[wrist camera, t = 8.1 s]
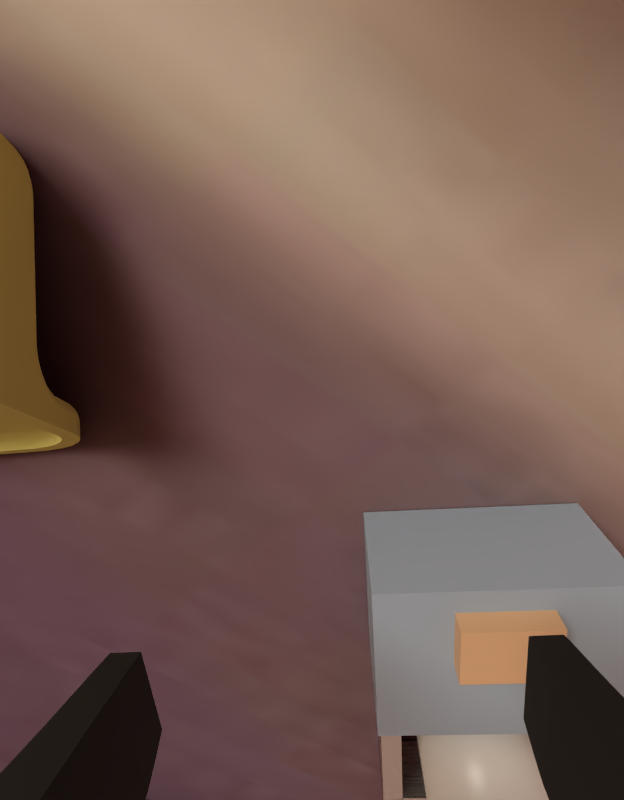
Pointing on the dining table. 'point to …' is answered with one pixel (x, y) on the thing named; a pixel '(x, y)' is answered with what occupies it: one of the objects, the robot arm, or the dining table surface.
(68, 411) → the plastic component
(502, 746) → the cream capped bottle
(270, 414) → the dining table surface
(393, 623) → the block
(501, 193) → the dining table surface
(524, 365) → the dining table surface
